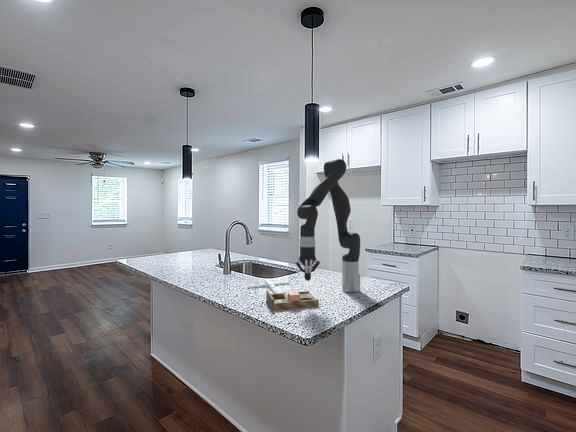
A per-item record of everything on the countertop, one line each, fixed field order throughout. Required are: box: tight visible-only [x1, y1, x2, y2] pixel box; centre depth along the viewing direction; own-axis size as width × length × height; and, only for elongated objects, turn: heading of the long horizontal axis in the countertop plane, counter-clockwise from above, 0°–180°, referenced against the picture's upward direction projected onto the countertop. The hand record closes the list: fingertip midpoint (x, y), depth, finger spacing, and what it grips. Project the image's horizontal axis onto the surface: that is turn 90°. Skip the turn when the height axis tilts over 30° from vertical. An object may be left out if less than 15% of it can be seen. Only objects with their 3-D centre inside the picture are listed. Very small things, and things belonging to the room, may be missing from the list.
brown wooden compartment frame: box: [265, 290, 320, 311], centre depth 153 cm, size 23×16×5 cm
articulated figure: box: [247, 279, 291, 295], centre depth 177 cm, size 27×4×30 cm
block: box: [287, 291, 300, 302], centre depth 148 cm, size 5×5×4 cm
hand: (307, 280), depth 151 cm, fingers closed
